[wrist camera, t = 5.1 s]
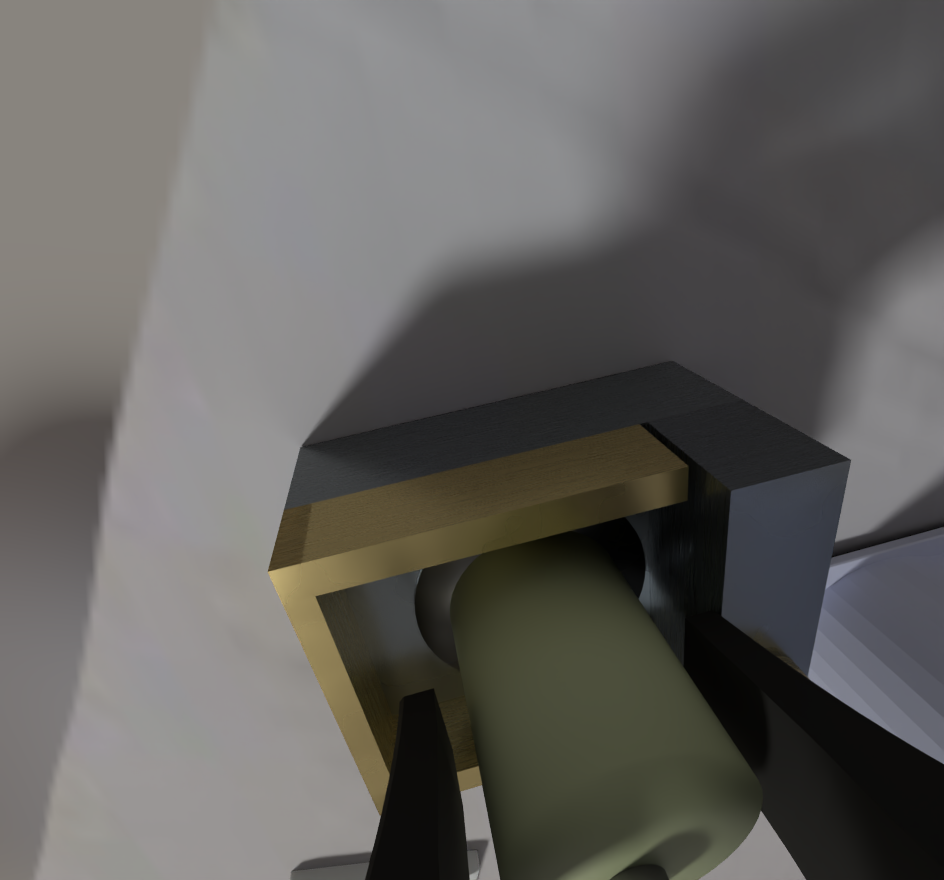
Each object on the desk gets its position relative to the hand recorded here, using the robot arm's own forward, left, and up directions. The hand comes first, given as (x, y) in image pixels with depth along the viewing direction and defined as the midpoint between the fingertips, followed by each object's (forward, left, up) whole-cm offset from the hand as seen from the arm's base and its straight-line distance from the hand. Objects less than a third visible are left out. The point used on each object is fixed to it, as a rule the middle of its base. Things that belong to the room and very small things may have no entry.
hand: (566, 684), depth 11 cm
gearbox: (0, 0, -6) cm, 6 cm away
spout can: (0, 0, -3) cm, 3 cm away
